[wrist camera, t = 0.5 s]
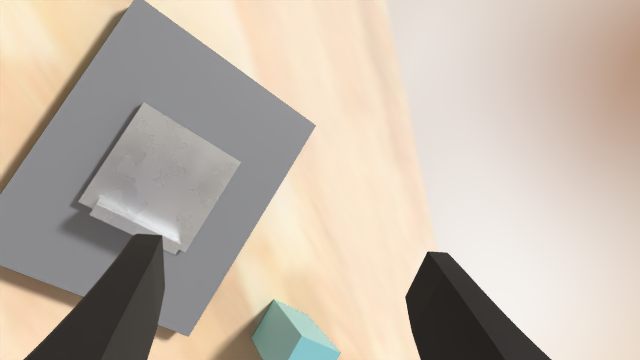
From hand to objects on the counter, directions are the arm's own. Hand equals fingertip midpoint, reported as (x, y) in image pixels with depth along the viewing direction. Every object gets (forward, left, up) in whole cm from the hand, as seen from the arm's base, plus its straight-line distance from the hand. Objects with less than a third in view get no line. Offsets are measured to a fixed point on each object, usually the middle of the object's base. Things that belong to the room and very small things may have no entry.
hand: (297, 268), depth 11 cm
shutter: (-1, +2, -21) cm, 21 cm away
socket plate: (-1, +2, -24) cm, 24 cm away
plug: (-8, -14, -24) cm, 29 cm away
